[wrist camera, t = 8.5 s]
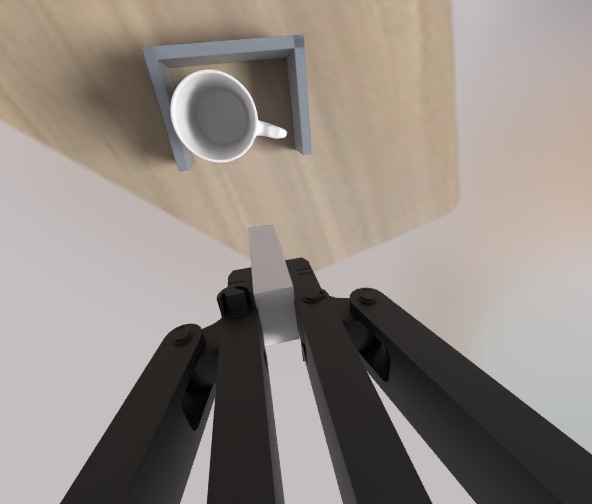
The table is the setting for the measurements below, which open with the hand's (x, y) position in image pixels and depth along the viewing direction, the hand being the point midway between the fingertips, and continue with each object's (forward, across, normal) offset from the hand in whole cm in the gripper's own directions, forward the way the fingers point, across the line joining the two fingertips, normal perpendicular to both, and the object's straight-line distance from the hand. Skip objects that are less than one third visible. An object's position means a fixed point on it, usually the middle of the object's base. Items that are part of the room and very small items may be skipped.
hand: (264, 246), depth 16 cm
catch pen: (+22, 0, +8) cm, 24 cm away
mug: (+23, 0, +6) cm, 23 cm away
